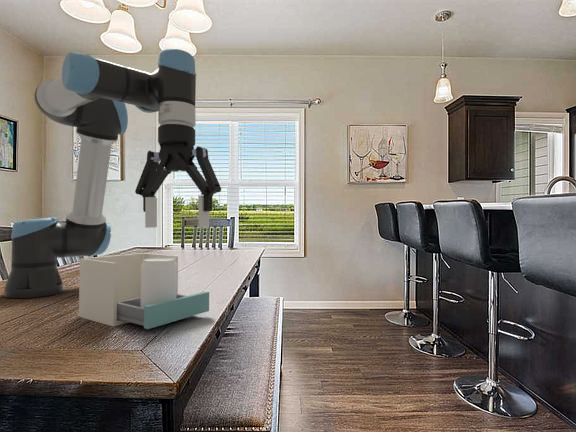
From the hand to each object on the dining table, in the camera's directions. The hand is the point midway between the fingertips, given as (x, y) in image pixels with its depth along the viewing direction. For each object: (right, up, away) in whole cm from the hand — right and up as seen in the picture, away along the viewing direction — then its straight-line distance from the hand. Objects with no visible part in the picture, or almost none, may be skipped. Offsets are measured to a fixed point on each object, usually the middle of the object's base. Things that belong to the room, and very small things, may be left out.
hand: (176, 227), depth 78 cm
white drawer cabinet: (-16, -22, +16) cm, 32 cm away
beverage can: (-8, -20, +11) cm, 24 cm away
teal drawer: (-7, -21, +9) cm, 24 cm away
